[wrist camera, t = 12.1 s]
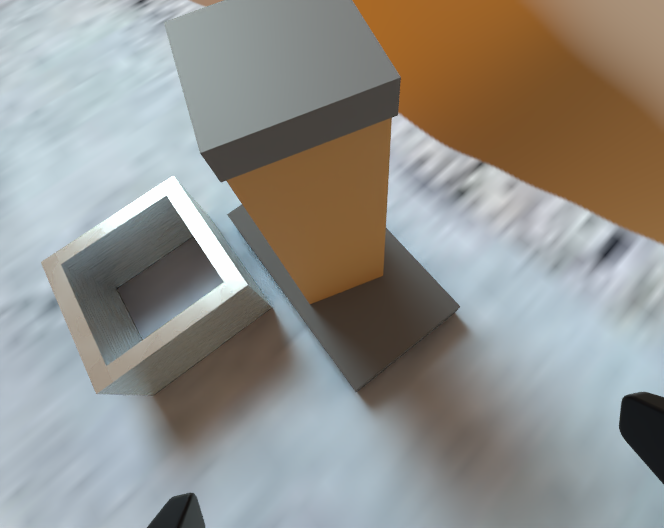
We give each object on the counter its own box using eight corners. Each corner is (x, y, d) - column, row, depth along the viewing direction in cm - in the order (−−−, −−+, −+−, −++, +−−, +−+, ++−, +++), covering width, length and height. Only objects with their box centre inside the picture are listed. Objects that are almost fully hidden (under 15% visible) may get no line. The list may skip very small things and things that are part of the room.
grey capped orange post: (385, 276, 18) (400, 77, 7) (308, 306, 18) (200, 153, 7) (355, 210, 20) (328, -38, 9) (284, 237, 20) (163, 22, 9)
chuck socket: (272, 307, 20) (248, 284, 16) (152, 395, 19) (96, 393, 15) (207, 213, 22) (173, 175, 18) (99, 286, 21) (41, 262, 18)
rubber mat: (455, 312, 18) (460, 306, 17) (356, 391, 17) (355, 390, 16) (319, 166, 23) (316, 153, 21) (234, 224, 22) (227, 214, 21)
